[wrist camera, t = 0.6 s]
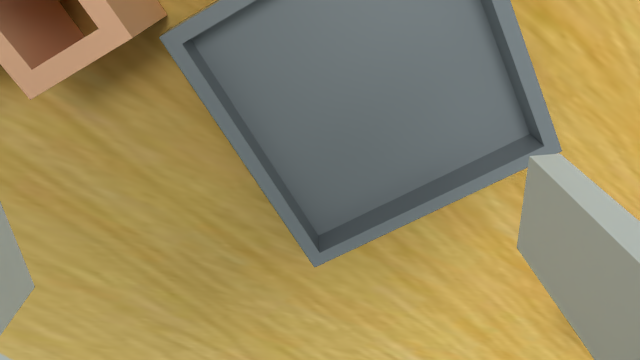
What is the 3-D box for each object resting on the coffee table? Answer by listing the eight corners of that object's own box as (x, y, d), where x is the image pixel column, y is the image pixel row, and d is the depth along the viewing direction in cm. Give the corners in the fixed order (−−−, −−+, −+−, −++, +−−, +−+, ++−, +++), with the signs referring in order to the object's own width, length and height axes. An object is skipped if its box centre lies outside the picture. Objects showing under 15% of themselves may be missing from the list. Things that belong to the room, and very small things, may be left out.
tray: (169, 29, 34) (158, 37, 31) (445, -137, 30) (460, -144, 27) (313, 245, 42) (314, 267, 39) (543, 135, 38) (562, 150, 36)
